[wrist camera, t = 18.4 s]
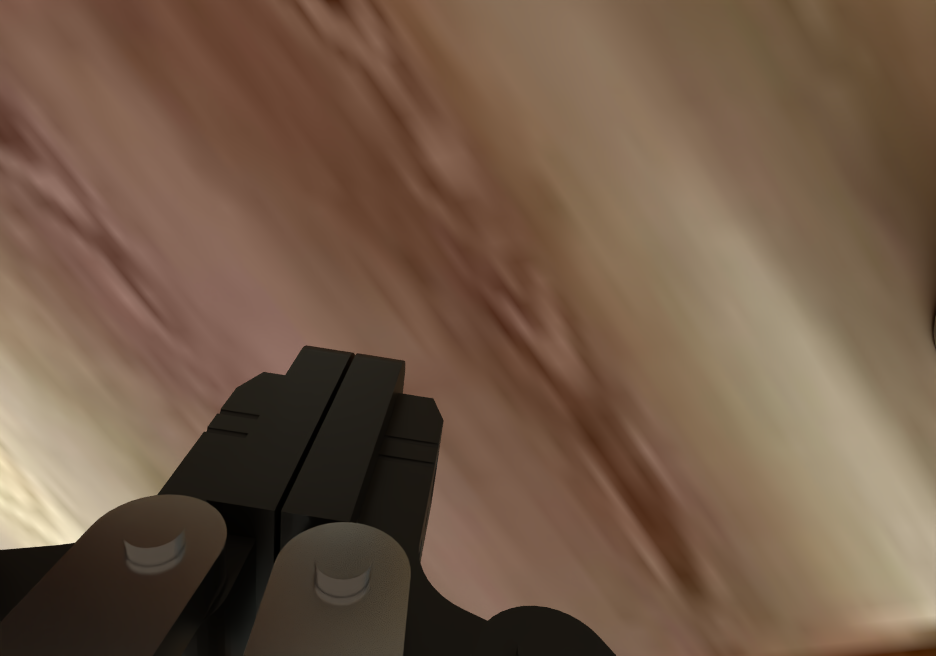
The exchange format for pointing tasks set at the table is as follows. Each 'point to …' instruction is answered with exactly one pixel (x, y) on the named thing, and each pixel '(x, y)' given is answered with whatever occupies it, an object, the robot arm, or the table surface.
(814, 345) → the table surface
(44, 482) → the table surface
